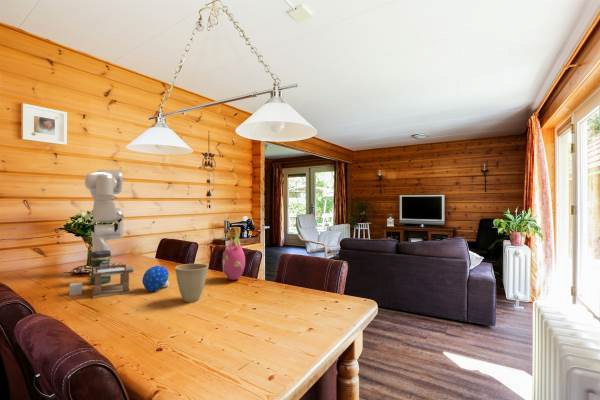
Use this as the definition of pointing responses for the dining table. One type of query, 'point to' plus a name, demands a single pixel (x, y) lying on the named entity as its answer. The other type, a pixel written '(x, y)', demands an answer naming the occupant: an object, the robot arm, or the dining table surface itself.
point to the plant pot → (191, 280)
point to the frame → (111, 289)
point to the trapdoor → (115, 270)
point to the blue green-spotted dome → (155, 278)
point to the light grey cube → (75, 288)
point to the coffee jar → (100, 264)
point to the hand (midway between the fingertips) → (104, 231)
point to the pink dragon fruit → (233, 259)
